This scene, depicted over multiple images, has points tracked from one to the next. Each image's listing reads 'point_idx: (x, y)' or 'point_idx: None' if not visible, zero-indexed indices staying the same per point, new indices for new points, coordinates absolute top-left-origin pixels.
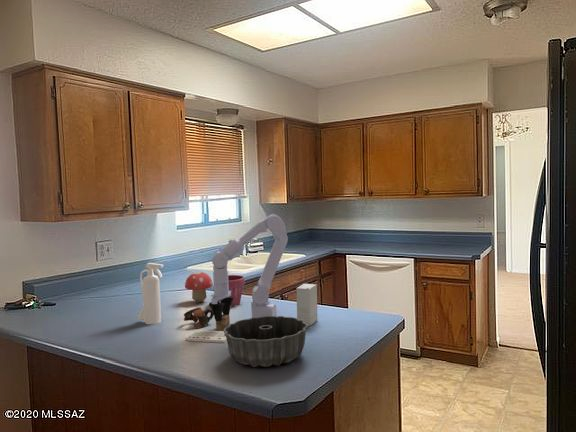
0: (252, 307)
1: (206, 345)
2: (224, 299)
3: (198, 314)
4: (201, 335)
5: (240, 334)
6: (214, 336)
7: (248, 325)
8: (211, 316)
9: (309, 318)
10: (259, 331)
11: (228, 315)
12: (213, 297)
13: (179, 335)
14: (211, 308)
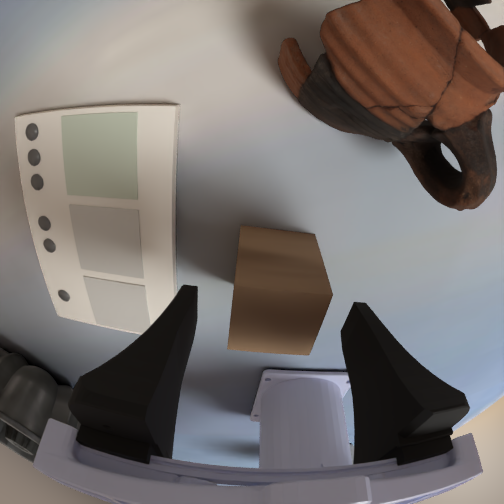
0: (280, 466)
1: (12, 248)
2: (386, 436)
3: (357, 66)
4: (66, 191)
5: (22, 392)
6: (79, 266)
7: (42, 428)
8: (422, 179)
9: None
10: (6, 431)
11: (295, 353)
12: (103, 494)
13: (105, 9)
14: (110, 361)
